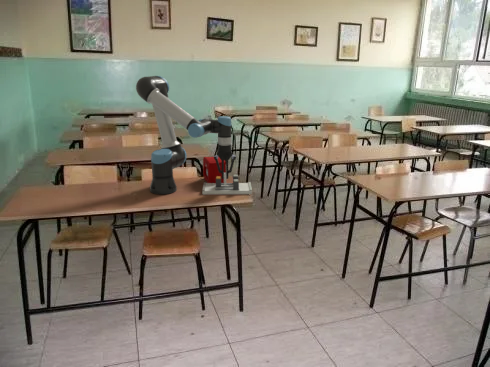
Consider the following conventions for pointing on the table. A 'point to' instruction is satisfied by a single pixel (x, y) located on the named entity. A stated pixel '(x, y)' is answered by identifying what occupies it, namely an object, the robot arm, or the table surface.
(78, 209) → the table surface
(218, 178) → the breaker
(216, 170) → the red rectangular box
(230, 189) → the white slider panel
